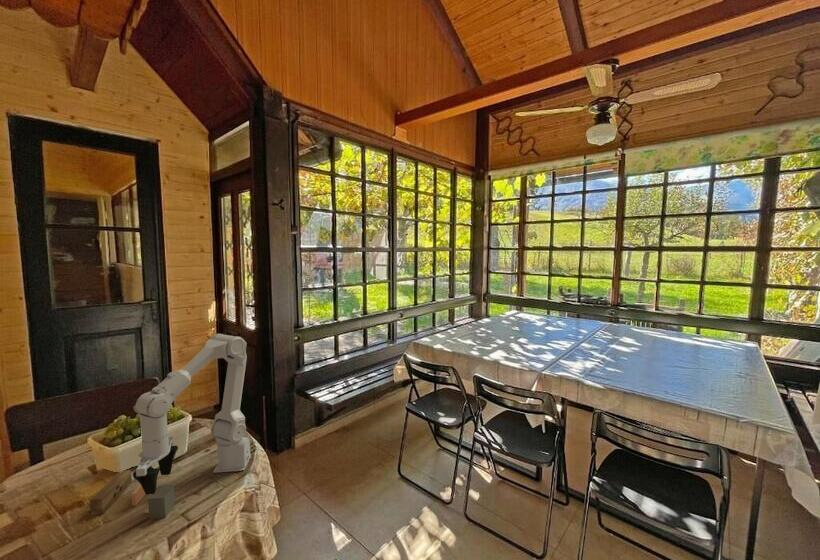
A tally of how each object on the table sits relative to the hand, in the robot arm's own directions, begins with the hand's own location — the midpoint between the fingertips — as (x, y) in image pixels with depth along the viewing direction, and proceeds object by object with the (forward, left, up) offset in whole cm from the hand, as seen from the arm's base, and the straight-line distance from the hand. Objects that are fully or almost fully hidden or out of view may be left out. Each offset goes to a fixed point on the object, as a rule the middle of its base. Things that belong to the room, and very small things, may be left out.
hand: (158, 483), depth 96 cm
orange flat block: (+9, -7, -8) cm, 14 cm away
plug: (0, 0, -9) cm, 9 cm away
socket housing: (+17, -7, -8) cm, 20 cm away
